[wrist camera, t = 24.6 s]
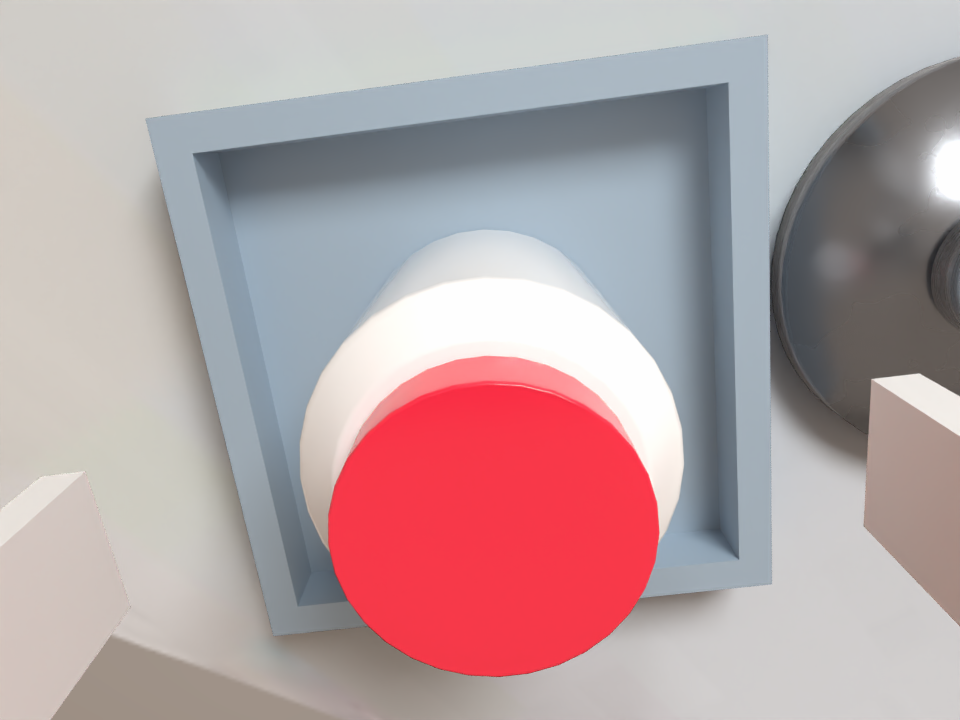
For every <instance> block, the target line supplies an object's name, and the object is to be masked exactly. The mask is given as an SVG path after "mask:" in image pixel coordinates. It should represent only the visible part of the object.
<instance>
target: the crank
mask: <svg viewBox="0 0 960 720" xmlns="http://www.w3.org/2000/svg"><path fill="white" fill-rule="evenodd" d="M931 290H932V296H933V299H934V302H935V305H936V307H937V309H938V311H939V312H940V314H941V315H942V317H943V318H944V319H945V320H946V321H947V322H948V323H949V324H951V325H952V326H953V327H955V328H956V329H958V330H960V222H959V223H958V224H957V225H956V226H955V227H954V228H953V229H952V230H951V231H950V233H949V234H948V235H947V237H946V238H945V239H944V241H943V242H942V244H941V246H940V248H939V250H938V252H937V255H936V257H935V260H934V263H933V267H932V273H931Z"/></svg>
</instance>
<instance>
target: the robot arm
mask: <svg viewBox="0 0 960 720" xmlns="http://www.w3.org/2000/svg"><path fill="white" fill-rule="evenodd" d="M864 527H865V528H866V529H867V530H868V531H869V532H870V533H871V534H872V535H873V536H874V537H875V539H876V540H877V541H878V542H879V543H880V544H881V545H882V546H883V547H884V548H885V549H886V550H887V551H888V552H889V553H890V554H891V555H892V556H893V557H894V558H895V559H896V560H897V561H898V562H899V564H900V565H901V566H902V567H903V568H904V569H905V570H906V571H907V572H908V573H909V574H910V575H911V576H912V577H913V578H914V579H915V580H916V581H917V582H918V583H919V584H920V585H921V586H922V587H923V588H924V590H925V591H926V592H927V593H928V594H929V595H930V596H931V597H932V598H933V599H934V600H935V601H936V602H937V603H938V604H939V605H940V606H941V607H942V608H943V609H944V610H945V611H946V612H947V613H948V615H949V616H950V617H951V618H952V619H953V620H954V621H955V622H956V623H957V624H958V625H959V626H960V396H958V395H956V394H955V393H953V392H951V391H949V390H948V389H946V388H944V387H942V386H941V385H939V384H937V383H935V382H933V381H932V380H930V379H928V378H926V377H925V376H923V375H921V374H910V375H901V376H893V377H884V378H876V379H871V396H870V415H869V434H868V453H867V472H866V491H865V510H864ZM130 608H131V606H130V603H129V600H128V597H127V594H126V591H125V588H124V585H123V582H122V579H121V576H120V573H119V570H118V567H117V564H116V561H115V558H114V555H113V552H112V549H111V546H110V543H109V540H108V537H107V534H106V531H105V528H104V525H103V522H102V519H101V516H100V513H99V510H98V507H97V504H96V501H95V498H94V495H93V492H92V489H91V486H90V484H89V481H88V478H87V475H86V472H85V471H83V472H74V473H66V474H57V475H49V476H41V477H40V478H39V479H37V480H36V481H35V482H34V483H33V484H31V485H30V486H29V487H28V488H26V489H25V490H24V491H23V492H22V493H20V494H19V495H18V496H17V497H15V498H14V499H13V500H12V501H10V502H9V503H8V504H7V505H6V506H4V507H3V508H2V509H1V510H0V720H51V718H52V717H53V716H54V714H55V713H56V711H57V710H58V709H59V707H60V706H61V704H62V703H63V702H64V700H65V699H66V697H67V696H68V695H69V693H70V692H71V690H72V689H73V688H74V686H75V685H76V683H77V682H78V680H79V679H80V678H81V676H82V675H83V674H84V672H85V671H86V669H87V668H88V666H89V665H90V664H91V662H92V661H93V660H94V658H95V657H96V655H97V654H98V653H99V651H100V650H101V648H102V647H103V646H104V644H105V643H106V641H107V640H108V638H109V637H110V636H111V634H112V633H113V631H114V630H115V629H116V627H117V626H118V624H119V623H120V622H121V620H122V619H123V617H124V616H125V615H126V613H127V612H128V610H129V609H130Z"/></svg>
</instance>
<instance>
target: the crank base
mask: <svg viewBox="0 0 960 720" xmlns="http://www.w3.org/2000/svg"><path fill="white" fill-rule="evenodd" d="M959 222H960V57H957V58H953V59H950V60H947V61H944V62H941V63H938V64H935V65H932V66H929V67H926V68H924V69H922V70H920V71H918V72H916V73H914V74H912V75H910V76H908V77H906V78H904V79H901V80H900V81H898V82H896V83H895V84H893V85H892V86H890V87H888V88H887V89H885V90H884V91H882V92H881V93H879V94H877V95H876V96H874V97H873V98H872V99H871V100H869V101H868V102H867V103H866V104H864V105H863V106H862V107H861V108H859V109H858V110H857V111H856V112H855V113H853V114H852V115H851V116H850V117H849V118H848V119H847V120H846V121H845V122H844V123H843V124H842V125H841V126H840V127H839V128H838V129H837V130H836V131H835V132H834V133H833V134H832V135H831V136H830V138H829V139H828V140H827V141H826V143H825V144H824V145H823V147H822V148H821V149H820V150H819V152H818V153H817V154H816V155H815V157H814V158H813V159H812V161H811V163H810V164H809V166H808V167H807V169H806V171H805V172H804V174H803V176H802V177H801V179H800V181H799V182H798V184H797V186H796V188H795V190H794V193H793V195H792V197H791V199H790V201H789V203H788V205H787V208H786V210H785V213H784V216H783V219H782V223H781V226H780V229H779V232H778V235H777V240H776V246H775V251H774V256H773V264H772V281H771V289H772V302H773V311H774V316H775V321H776V325H777V330H778V333H779V336H780V339H781V341H782V344H783V347H784V349H785V352H786V354H787V356H788V358H789V360H790V361H791V363H792V365H793V367H794V369H795V370H796V372H797V374H798V375H799V376H800V378H801V379H802V380H803V382H804V383H805V384H806V385H807V387H808V388H809V389H810V391H812V392H813V393H814V394H815V395H816V396H817V397H818V398H819V399H820V400H821V401H822V402H823V403H824V404H825V405H826V406H828V407H829V408H830V409H831V410H833V411H834V412H835V413H837V414H838V415H839V416H841V417H842V418H843V419H845V420H846V421H848V422H849V423H850V424H852V425H853V426H855V427H856V428H858V429H859V430H860V431H862V432H863V433H865V434H867V435H868V434H869V415H870V396H871V379H876V378H884V377H893V376H901V375H910V374H921V375H923V376H925V377H926V378H928V379H930V380H932V381H933V382H935V383H937V384H939V385H941V386H942V387H944V388H946V389H948V390H949V391H951V392H953V393H955V394H956V395H958V396H960V330H958V329H956V328H955V327H953V326H952V325H951V324H949V323H948V322H947V321H946V320H945V319H944V318H943V317H942V315H941V314H940V312H939V311H938V309H937V307H936V305H935V302H934V299H933V296H932V290H931V273H932V267H933V263H934V260H935V257H936V255H937V252H938V250H939V248H940V246H941V244H942V242H943V241H944V239H945V238H946V237H947V235H948V234H949V233H950V231H951V230H952V229H953V228H954V227H955V226H956V225H957V224H958V223H959Z"/></svg>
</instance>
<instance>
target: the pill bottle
mask: <svg viewBox="0 0 960 720" xmlns="http://www.w3.org/2000/svg"><path fill="white" fill-rule="evenodd" d="M683 469H684V452H683V436H682V425H681V422H680V418H679V415H678V411H677V408H676V404H675V401H674V397H673V394H672V391H671V389H670V388H669V386H668V384H667V382H666V380H665V378H664V376H663V375H662V373H661V371H660V369H659V367H658V365H657V364H656V362H655V360H654V358H653V357H652V356H651V354H650V353H649V352H648V351H647V349H646V348H645V347H644V346H643V344H642V343H641V342H640V341H639V340H638V338H637V337H636V336H635V335H634V333H633V332H632V331H631V330H630V328H629V327H628V326H627V325H626V324H625V322H624V321H623V320H622V319H621V317H620V316H619V315H618V314H617V312H616V311H615V310H614V309H613V308H612V306H611V305H610V304H609V303H608V301H607V300H606V299H605V298H604V296H603V295H602V294H601V293H600V291H599V290H598V289H597V288H596V287H595V285H594V284H593V283H592V282H591V281H590V279H589V278H588V277H587V276H586V275H585V273H584V272H583V271H582V270H581V269H580V268H579V266H578V265H577V264H576V263H574V262H573V261H572V260H571V259H569V258H568V257H567V256H565V255H564V254H563V253H562V252H560V251H559V250H558V249H556V248H554V247H552V246H550V245H548V244H546V243H544V242H542V241H540V240H538V239H536V238H534V237H531V236H527V235H523V234H520V233H516V232H512V231H506V230H489V229H481V230H474V231H467V232H460V233H456V234H453V235H450V236H447V237H444V238H442V239H439V240H436V241H433V242H432V243H430V244H428V245H427V246H425V247H423V248H422V249H420V250H418V251H417V252H415V253H413V254H412V255H411V256H410V257H409V258H408V259H406V260H405V261H404V262H403V263H402V264H401V265H400V266H399V267H398V268H397V269H396V270H394V271H393V273H392V274H391V275H390V277H389V278H388V280H387V281H386V282H385V284H384V285H383V287H382V288H381V289H380V291H379V292H378V293H377V295H376V296H375V298H374V299H373V300H372V302H371V303H370V305H369V306H368V307H367V309H366V310H365V312H364V313H363V314H362V316H361V317H360V319H359V320H358V321H357V323H356V324H355V326H354V327H353V328H352V330H351V331H350V333H349V334H348V335H347V337H346V338H345V340H344V341H343V342H342V344H341V345H340V346H339V348H338V349H337V351H336V352H335V353H334V355H333V356H332V358H331V359H330V360H329V362H328V363H327V365H326V366H325V367H324V369H323V370H322V372H321V374H320V377H319V379H318V381H317V383H316V386H315V388H314V390H313V392H312V395H311V397H310V399H309V402H308V404H307V406H306V411H305V416H304V421H303V426H302V431H301V436H300V479H301V484H302V488H303V492H304V496H305V501H306V505H307V509H308V513H309V515H310V517H311V519H312V521H313V523H314V526H315V528H316V530H317V532H318V534H319V536H320V538H321V541H322V543H323V544H324V545H325V547H326V548H327V550H328V551H329V552H330V555H331V559H332V563H333V568H334V572H335V575H336V577H337V579H338V581H339V583H340V586H341V588H342V590H343V592H344V594H345V596H346V598H347V600H348V601H349V603H350V604H351V605H352V607H353V608H354V609H355V611H356V612H357V613H358V615H359V616H360V618H361V619H362V620H363V622H364V623H365V624H366V625H368V626H369V627H370V628H371V629H372V630H373V631H374V632H375V633H376V634H377V635H379V636H380V637H381V638H382V639H383V640H384V641H385V642H386V643H388V644H390V645H391V646H393V647H394V648H396V649H398V650H399V651H401V652H403V653H404V654H406V655H407V656H409V657H411V658H413V659H415V660H418V661H420V662H423V663H425V664H428V665H430V666H433V667H435V668H438V669H441V670H446V671H451V672H455V673H460V674H464V675H471V676H490V677H503V676H511V675H520V674H529V673H533V672H536V671H540V670H543V669H547V668H550V667H554V666H557V665H560V664H562V663H564V662H566V661H568V660H570V659H572V658H574V657H576V656H578V655H580V654H583V653H585V652H586V651H588V650H589V649H590V648H592V647H593V646H595V645H596V644H597V643H599V642H600V641H602V640H603V639H604V638H606V637H607V636H608V635H610V634H611V633H612V632H613V631H614V629H615V628H616V627H617V626H618V625H619V624H620V623H621V622H622V621H623V620H624V619H625V618H626V617H627V616H628V615H629V614H630V612H631V611H632V609H633V608H634V606H635V604H636V603H637V601H638V600H639V598H640V597H641V595H642V593H643V592H644V590H645V588H646V586H647V583H648V580H649V578H650V575H651V572H652V570H653V567H654V564H655V561H656V554H657V547H658V544H659V542H660V541H661V539H662V538H663V536H664V535H665V533H666V531H667V529H668V526H669V524H670V521H671V518H672V516H673V513H674V510H675V508H676V505H677V503H678V500H679V495H680V488H681V482H682V475H683Z"/></svg>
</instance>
